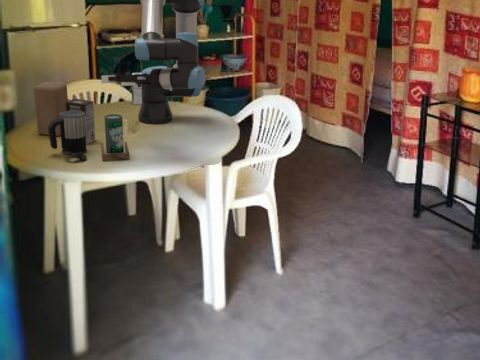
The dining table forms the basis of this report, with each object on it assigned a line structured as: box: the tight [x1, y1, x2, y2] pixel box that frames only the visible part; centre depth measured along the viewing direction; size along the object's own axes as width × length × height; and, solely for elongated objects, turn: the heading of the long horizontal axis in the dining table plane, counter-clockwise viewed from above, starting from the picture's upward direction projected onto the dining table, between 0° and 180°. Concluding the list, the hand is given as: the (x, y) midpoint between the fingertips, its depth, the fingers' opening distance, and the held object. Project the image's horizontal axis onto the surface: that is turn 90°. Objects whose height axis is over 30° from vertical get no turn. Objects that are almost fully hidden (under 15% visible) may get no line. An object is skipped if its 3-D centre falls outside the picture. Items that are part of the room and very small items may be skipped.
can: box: [104, 113, 125, 154], centre depth 226 cm, size 6×6×15 cm
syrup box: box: [131, 72, 142, 106], centre depth 298 cm, size 6×6×14 cm
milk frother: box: [48, 111, 88, 161], centre depth 226 cm, size 14×16×15 cm
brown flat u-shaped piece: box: [100, 141, 130, 162], centre depth 229 cm, size 10×14×2 cm
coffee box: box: [66, 98, 96, 145], centre depth 241 cm, size 9×6×16 cm
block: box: [33, 81, 69, 137], centre depth 250 cm, size 10×10×20 cm
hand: (111, 80), depth 229 cm, fingers open, 13 cm apart
